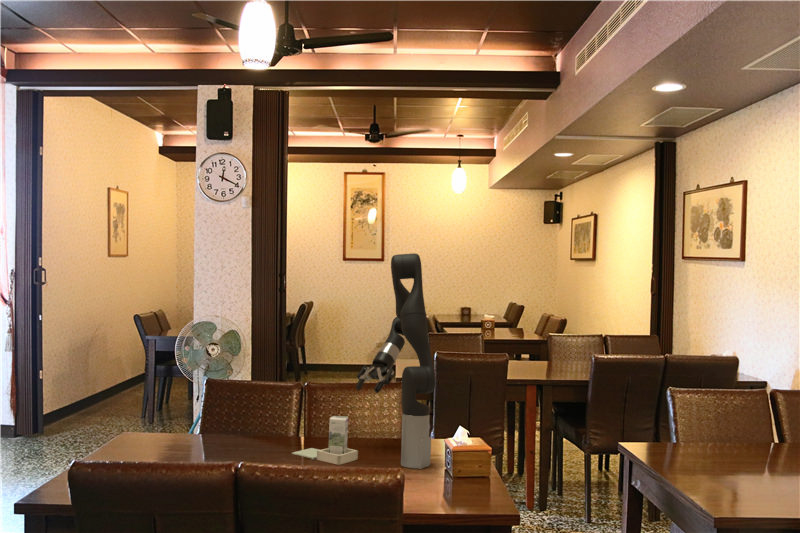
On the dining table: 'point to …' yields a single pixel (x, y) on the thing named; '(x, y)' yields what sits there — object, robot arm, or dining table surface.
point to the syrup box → (338, 435)
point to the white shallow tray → (329, 455)
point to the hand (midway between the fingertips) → (366, 390)
